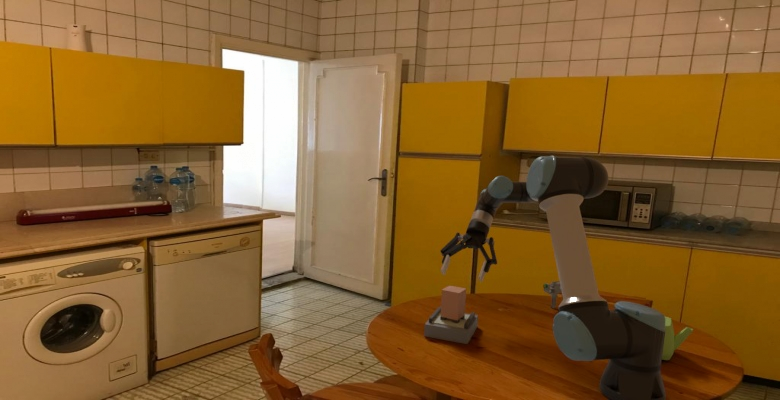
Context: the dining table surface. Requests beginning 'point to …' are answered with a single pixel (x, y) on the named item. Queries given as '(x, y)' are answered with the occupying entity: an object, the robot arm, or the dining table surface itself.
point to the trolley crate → (453, 303)
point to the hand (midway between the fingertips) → (461, 276)
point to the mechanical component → (553, 291)
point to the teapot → (673, 339)
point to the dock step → (451, 327)
